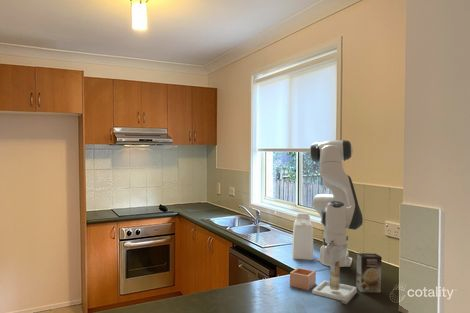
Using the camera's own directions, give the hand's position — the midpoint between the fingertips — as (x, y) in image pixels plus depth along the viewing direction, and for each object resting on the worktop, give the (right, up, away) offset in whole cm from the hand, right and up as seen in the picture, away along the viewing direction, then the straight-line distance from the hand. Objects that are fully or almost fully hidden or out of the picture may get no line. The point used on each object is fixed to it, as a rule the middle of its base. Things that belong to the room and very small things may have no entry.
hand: (335, 270), depth 160 cm
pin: (0, -8, 0) cm, 8 cm away
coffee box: (+17, -11, +6) cm, 21 cm away
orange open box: (-13, -10, +8) cm, 18 cm away
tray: (0, -11, 0) cm, 11 cm away
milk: (-3, -10, +59) cm, 60 cm away
